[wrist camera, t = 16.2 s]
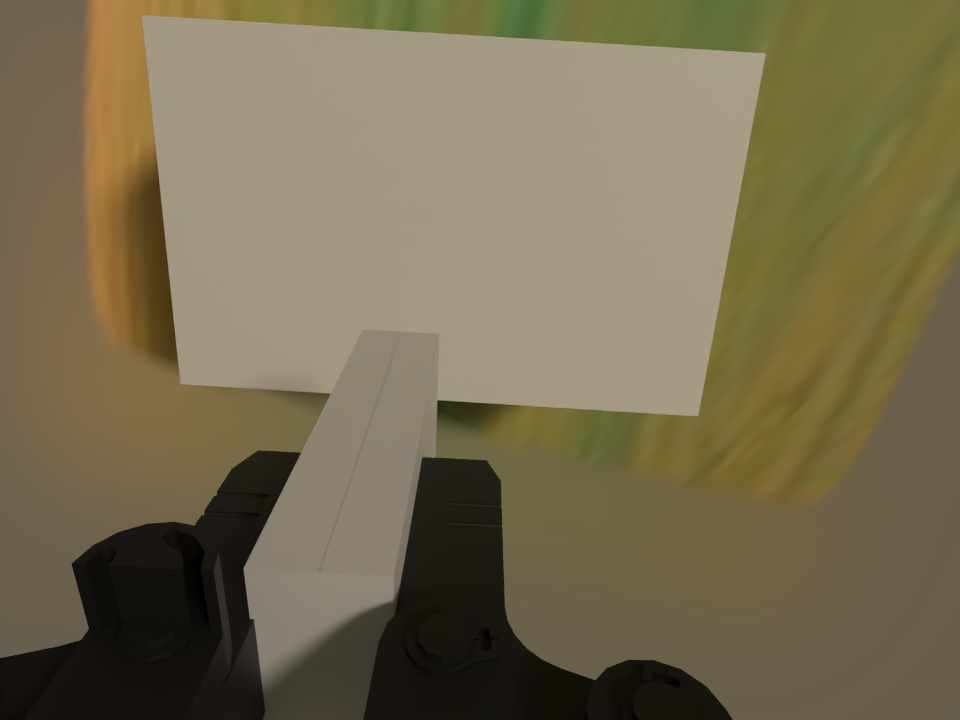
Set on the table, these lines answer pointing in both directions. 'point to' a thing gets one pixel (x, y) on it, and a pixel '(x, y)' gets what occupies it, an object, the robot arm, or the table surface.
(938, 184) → the table surface
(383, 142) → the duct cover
